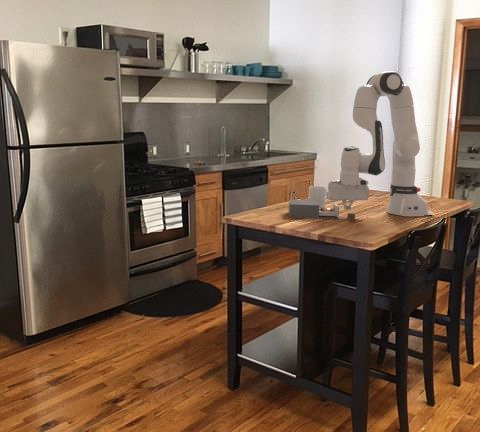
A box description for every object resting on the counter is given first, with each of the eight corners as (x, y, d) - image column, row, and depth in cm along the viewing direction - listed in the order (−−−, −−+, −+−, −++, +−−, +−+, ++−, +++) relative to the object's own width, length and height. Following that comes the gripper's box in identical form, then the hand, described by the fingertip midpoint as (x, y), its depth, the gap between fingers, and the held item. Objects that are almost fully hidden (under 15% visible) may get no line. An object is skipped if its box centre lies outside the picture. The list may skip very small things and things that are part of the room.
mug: (318, 210, 274) (319, 189, 272) (304, 208, 281) (305, 187, 278) (332, 208, 283) (333, 187, 280) (318, 205, 289) (319, 185, 287)
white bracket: (336, 211, 268) (337, 202, 267) (339, 217, 255) (340, 207, 254) (308, 210, 269) (308, 201, 268) (309, 216, 256) (310, 206, 255)
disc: (332, 211, 264) (332, 207, 264) (333, 213, 259) (333, 209, 258) (319, 210, 265) (320, 206, 264) (320, 213, 259) (321, 209, 258)
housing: (335, 213, 268) (335, 201, 267) (338, 219, 255) (339, 205, 254) (288, 212, 269) (288, 199, 268) (289, 217, 257) (289, 204, 255)
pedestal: (353, 220, 252) (354, 213, 251) (354, 222, 249) (355, 214, 248) (347, 220, 252) (347, 213, 252) (348, 222, 249) (348, 214, 249)
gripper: (330, 181, 253) (329, 210, 256) (371, 181, 257) (369, 210, 260) (326, 179, 259) (324, 208, 262) (365, 179, 263) (363, 207, 266)
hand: (347, 209), depth 261 cm, fingers closed
